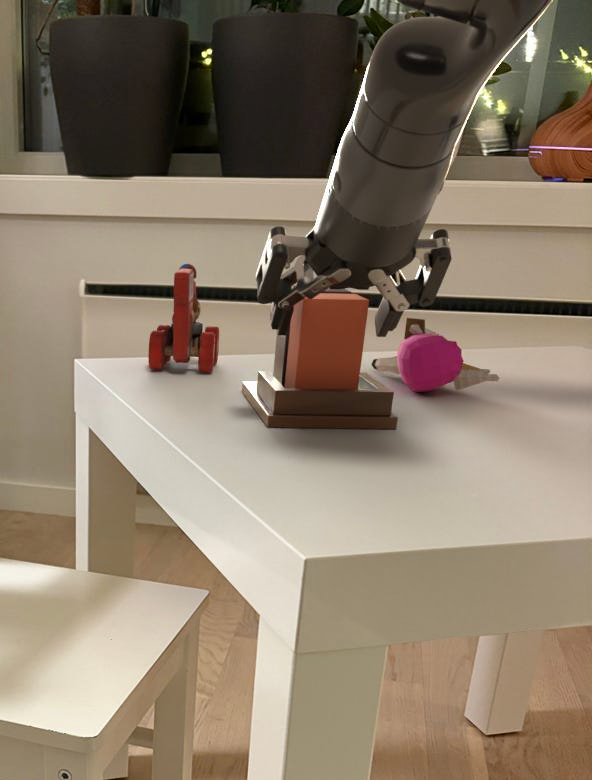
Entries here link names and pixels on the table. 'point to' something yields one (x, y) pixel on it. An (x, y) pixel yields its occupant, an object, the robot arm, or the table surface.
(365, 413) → the brown wooden stand
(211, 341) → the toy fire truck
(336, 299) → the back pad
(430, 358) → the toy
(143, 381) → the table surface
